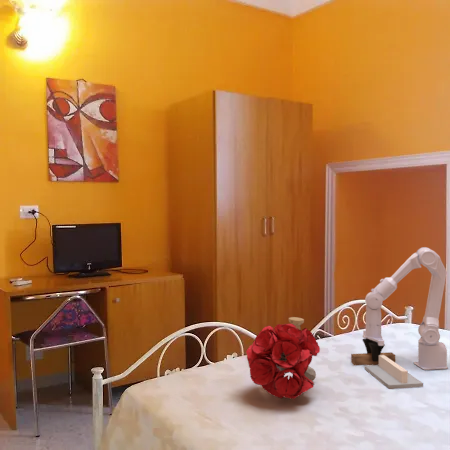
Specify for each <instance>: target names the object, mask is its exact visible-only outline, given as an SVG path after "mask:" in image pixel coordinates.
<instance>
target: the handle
mask: <svg viewBox="0 0 450 450" xmlns="http://www.w3.org/2000/svg"><path fill="white" fill-rule="evenodd" d="M288 322H289V324H294V325H295V326H296V328H298V329H299V330H301V331H302V329H301V325H303V324H304V323H305V319H304V318H301V317H297V316H296V317H295V316H291V317H288Z"/></svg>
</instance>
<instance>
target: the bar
mask: <svg viewBox="0 0 450 450" xmlns="http://www.w3.org/2000/svg"><path fill="white" fill-rule="evenodd" d="M380 355H385V356H386V357H388V358H389V359H391V360H392V361H393V362H395V363H396V354H394V353H393V352H381V354H380ZM350 357H351V358H350V363H351V364H352V365H353V366H370V365H379V361H373V360H372V353H367V352H365V353H350Z"/></svg>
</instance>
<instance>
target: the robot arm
mask: <svg viewBox="0 0 450 450" xmlns="http://www.w3.org/2000/svg"><path fill="white" fill-rule="evenodd" d="M422 266H423V267H425V268H426V269H427V270H428V271H429V273H430V274H431V277H430V282H429V289H428V294H427V300H426V305H425V310H424V311H425V312H424V315H423V318H422V322H421V323H420V325H419V326H418V329H417V332H418V334H419V335H420V338H419V339H418V344H417V345H418V346H417V347H418V351H417V352H418V353H417V355H418V356H417V361H414V362H413V364H414V365H416V367H417V366H418V367H419V368H420V369H422V370H423V371H428V370H431V371H432V370H446V369H448V368H449V367H448V366H447V364H448V363H447V362H448V361H447V360H448V354H447V353H448V352H447V351H448V350H447V347H446V344H445V343H444V342H441V341H440V339H441V335H440V331H439V328H440V322H439V319H440V313H441V307H442V303H443V302H442V300H443V294H444V290H445V283H446V279H447V269H446V267H445V265H444V263H443V261H442V259H441V256H440V255H439V254H438V253H437V252H436V251H435V250H433V249H431V248H429V247H426V246H424V247H423V246H422V247H420V248H418V249H417V250H416V252H414V253H412V254H411V256H409V257H408V258H407V259H406V260H405V262H404V263H403V264H401V265H400V267H399V268H398V269H397V270H395V272H394V273H393V274H392V275H391V276H390V277H384V278H381V279H380V280H379V283H378V284H377V285H376V286H375V287H374V288H371V289H370V292H368V293H367V294H366V295H365V298H364V299H365V304H366V305H365V310H366V311H365V330H363V333H362V342H363V344H364V346H365V351H366V353H372V360H373V361H379V355H380V354H381V353H382V351H383V349H384V347H386V345H385V340H384V338H383V336H382V311H381V310H382V306H383V301H385V300H386V299H388V298H389V297H390V296H391V295H392V294H393V293H394V292H395V291H396V290H397V289H398V284H399V282H401V281H402V279H404V278H405V277H406V276H407V275H408V274H409V273H410V272H411V271H413V270H415V269H421V268H422Z"/></svg>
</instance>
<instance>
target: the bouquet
mask: <svg viewBox="0 0 450 450" xmlns="http://www.w3.org/2000/svg"><path fill="white" fill-rule="evenodd" d="M320 350H321V348H320V345H319V344H318V341H317V339H316V337H315V336H314V334H313V333H312V331H311V330H309V329H308V328H307V327H305V328H302V329H301V330H299V329H298V328H296V326H295V325H294V324H291V323H284V324H280V323H278V324H276V325H275V326H274V327H273V326H271V325H267V326H264V327H263V328H262V329H261V330H260V331H259V332H258V334H257V335H256V337H254V341H253V342H252V344H250V345H249V347H247V349H246V351H245V352H246V359H247V363H248V368H249V375H250V378H251V381H252V382H253V383H254V384H255V385H258V386H261V387H262V389H264V391H266V392H267V393H268V394H270V395H271V396H273V397H276V398H279V399H283V398H285V399H291V400H296V399H297V397H299V396H302V394H304V393H305V392H308V391H309V390H312V389H313V388H314V385H315V383H314V380H315V379H316V377H317V374H316V370H315V369H314V368H312V367H311V366H310V364H311V363H312V361H313V357H318V354H319V353H320ZM289 373H291V374H292V376H291V375H289ZM286 374H287V375H286Z"/></svg>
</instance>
